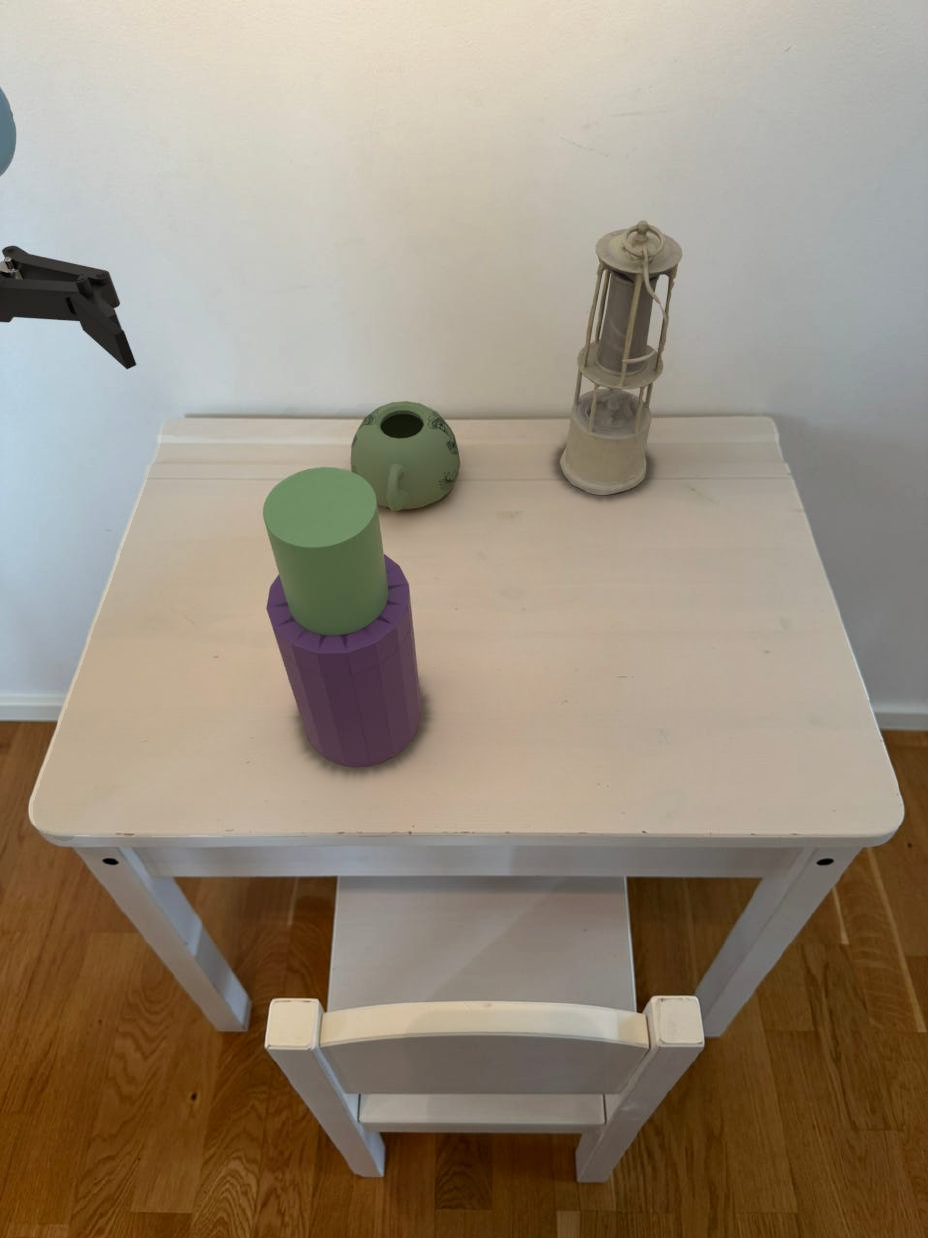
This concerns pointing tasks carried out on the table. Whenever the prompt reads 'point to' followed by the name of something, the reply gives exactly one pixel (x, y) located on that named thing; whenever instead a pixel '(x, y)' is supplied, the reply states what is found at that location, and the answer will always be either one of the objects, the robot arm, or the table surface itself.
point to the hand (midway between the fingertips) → (32, 393)
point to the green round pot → (406, 455)
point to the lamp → (619, 362)
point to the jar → (354, 678)
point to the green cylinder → (328, 549)
